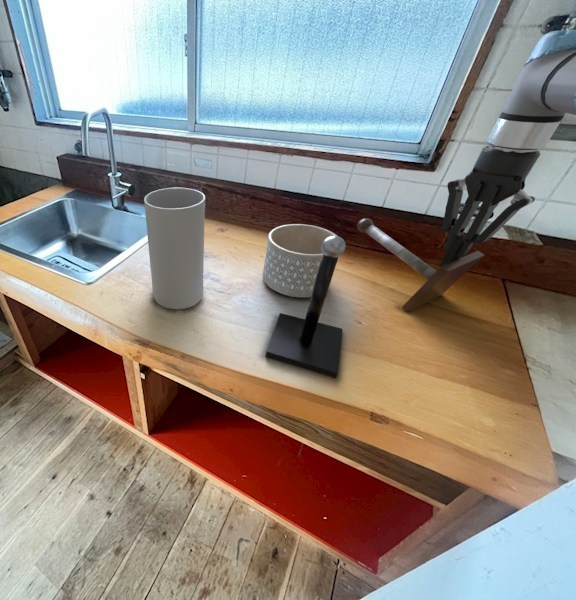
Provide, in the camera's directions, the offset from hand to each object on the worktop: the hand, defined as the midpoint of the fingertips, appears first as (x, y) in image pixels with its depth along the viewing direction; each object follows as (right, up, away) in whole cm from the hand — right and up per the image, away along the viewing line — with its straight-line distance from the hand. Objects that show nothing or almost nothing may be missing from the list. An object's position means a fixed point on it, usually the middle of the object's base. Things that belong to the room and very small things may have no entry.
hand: (446, 266), depth 69 cm
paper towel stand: (-5, +2, +11) cm, 13 cm away
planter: (-27, -3, +15) cm, 31 cm away
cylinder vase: (-58, -6, +12) cm, 59 cm away
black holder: (-28, -8, -12) cm, 32 cm away
